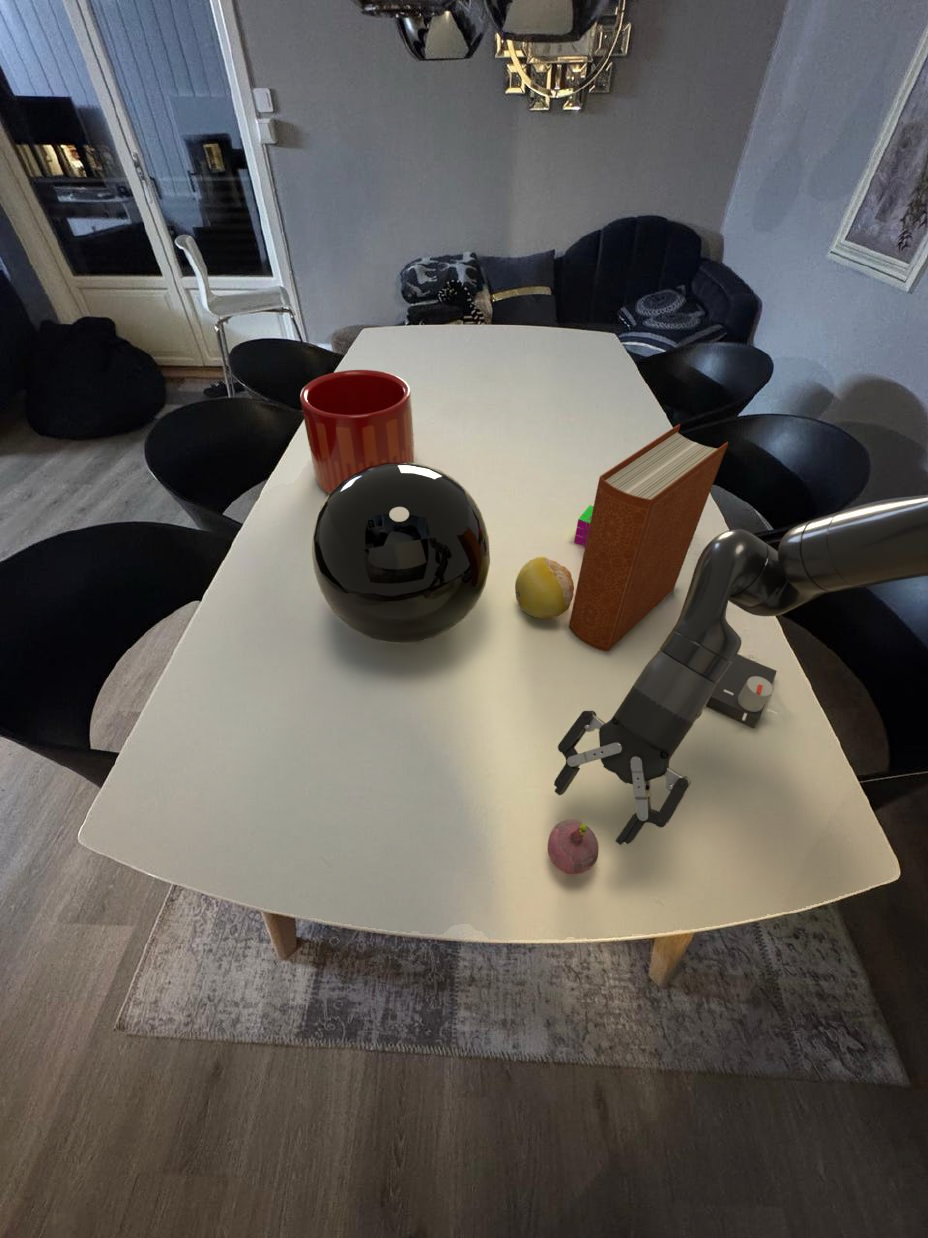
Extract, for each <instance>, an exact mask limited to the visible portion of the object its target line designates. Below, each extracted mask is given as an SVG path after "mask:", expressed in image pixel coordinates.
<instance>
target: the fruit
mask: <svg viewBox="0 0 928 1238" xmlns="http://www.w3.org/2000/svg"><path fill="white" fill-rule="evenodd" d="M574 591H575V583H574V579H573V577H572V573H571V572H570V570H569V569H568V568H567V567H566V566H564V565H562V564H560V563H558V562H557V560H553V559H550V558H547V557H546V556H537V557H534V558H533V559H530V560H529V561H528V562H526V563H525V564H524V565H523V566H522V567H521V568H520V571H519V572H518V574H517V577H516V579H515V585H514V592H515V599H516V601H517V604H518V605H519V607H520V608H521V610H522V611H523V612H525V613H526V614H527V615H529V616H532V617H534V618H540V619H551V618H556V617H559V616H560V615H563V614H565V613H567V611H568V610H569V608H570V606H571V604H572V601H573V600H574V597H575V594H574Z"/></svg>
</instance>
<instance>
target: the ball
mask: <svg viewBox="0 0 928 1238" xmlns="http://www.w3.org/2000/svg"><path fill="white" fill-rule="evenodd" d="M490 552H491V551H490V537H489V534H488V530H487V527H486V523H485V521H484V517H483V514H482V512H481V510H480V507H478V504H477V503H476V501H475V500H474V498H473V496H472V495H471V493H470V492H469V491H468V490H467V489H466V488H465V487H464V486H463V485H462V484H461V483H460V482H459V481H458V480H456V479H454V477H452V476H450V475H449V474H447V473H446V472H444V471H442V470H440V469H438V468H434V467H431V466H428V465H425V464H422V463H417V462H415V463H410V462H385V463H381V464H377V465H372V466H369V467H367V468H365V469H362V470H360V471H358V472H355V473H354V474H352V475H351V476H349V477H348V478H346V479H345V480H343V481H342V482H341V483H340V484H339V485H338V486H337V487H336V488H335V489H334V490H333V491H332V492H331V493H328V496H327V497H326V499H324V502H323V503H322V504H321V506H320V509H319V511H318V515H317V517H316V519H315V522H314V525H313V528H312V538H311V557H312V558H311V559H312V566H313V570H314V574H315V578H316V581H317V584H318V588H319V590H320V593H321V595H322V596H323V598H324V599H325V601H326V602H327V604H328V605H329V607H330V609H331V610H332V612H333V613H334V614H335V615H336V616H337V617H338V618H339V619H340V620H341V621H342V622H344V624H346V626H348V627H349V628H351V629H352V630H354V631H356V632H358V633H359V634H361V635H363V636H366V637H369V639H370V638H371V639H372V640H376V641H380V642H384V643H385V642H386V643H392V644H393V643H395V644H410V643H420V642H423V641H426V640H430V639H433V638H435V637H437V636H439V635H441V634H444V633H445V632H447V631H449V630H451V629H452V628H453V627H454V626H456V625H458V624H459V623H460V622H462V621H463V620H464V619H465V618H466V617H467V616H468V614H470V613H471V612H472V610H473V609H474V607H475V606H476V605H477V603H478V601H479V600H480V598H481V596H482V594H483V592H484V590H485V587H486V584H487V580H488V576H489V571H490V565H491V555H490Z"/></svg>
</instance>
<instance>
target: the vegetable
mask: <svg viewBox="0 0 928 1238" xmlns="http://www.w3.org/2000/svg"><path fill="white" fill-rule="evenodd" d="M547 840H548V841H547V854H548V857H549V859H550V861H551V863H552V864H553V865H554V867H555V868H556V869H558V870H559V871H561V872H562V873H564V874H567V875H572V876H573V875H580V874H584V873H586V872H588V871H589V870H591V869H592V868H593V867H594V866H595V865H596V863H597V861H598V858H599V853H600V852H599V851H600V845H599V841H598V838H597V837H596V834H595V833H594V830H592V829H591V828H590V827H589V826H588V825H587V824H586V823H584V822H583V821H580V820H576V819H566V820H562V821H560V822H558V823H557V824H555V825H554V827H552V829H551V831H550V834H549V835H548V839H547Z"/></svg>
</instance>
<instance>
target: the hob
mask: <svg viewBox="0 0 928 1238" xmlns="http://www.w3.org/2000/svg"><path fill="white" fill-rule="evenodd" d="M777 672H778V670H776V669H774V668H772V667H768V666H766V665H764V664H762V663H759V662H757V661H754V660H752V659H750V658H748V657H745V656H742V655H740V654H738V653H737V655H736V657H735V658H734V660H733V661H732V663H730V666H729V667H728V669H727V670H726V672H725V673H724V675H723V676H722V678H721V679H720V681H719V682H718V683H716V687H715V688H714V690H713V692H712V694H711V697H710V699H709V701H708V703H707V704H706V706H705V707H707V708H709V709H711V710H714V711H716V712H717V713H720V714H722V715H724V716H726V717H728V718H730V719H733V720H735V721H737V722H739V723H742V724H743V725H746V726H748V727H750V728H753V729H754V728H755V727H756V725H757V724H758V722H759V720H761V718H762V717H761V716H762V714H763V712H764V708H765V706H766V704H765V705H764V706H763V708H762V709H761V710H760V711H758V712H751V711H748V710H746V709H744V708H743V707H741V705H740V704H739V702H738V696H739V694H740V692H741V691H742V689H743V687H744V685H745V684H746V682H747V680H748V679H749V678H751V677H754V676H757V677H762V678H764V679H766V680H767V681H769V682H770V683H771V685H772V686H773V682H774V680H775V677H776V675H777ZM766 712H768V713H770V714H773V715H775V716H777V715H778V712H776V711H774V710H772V709H770V708H767V709H766Z"/></svg>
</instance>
